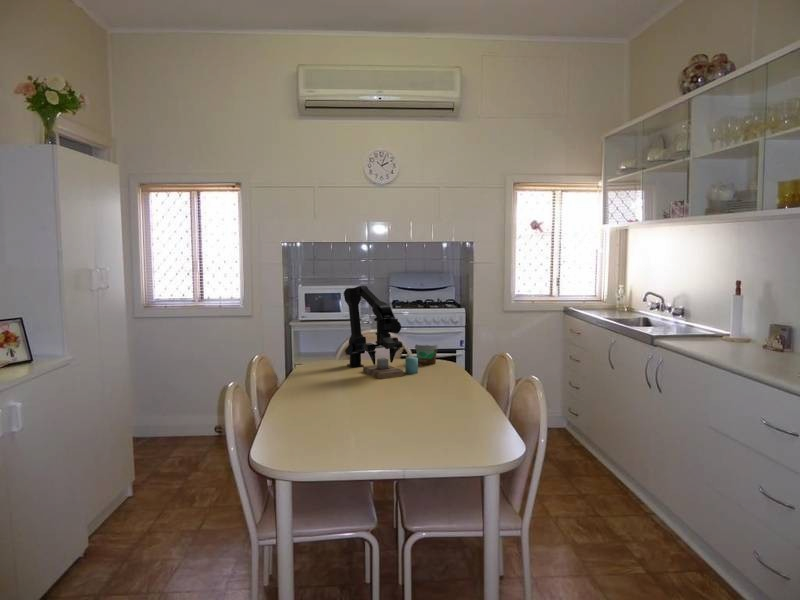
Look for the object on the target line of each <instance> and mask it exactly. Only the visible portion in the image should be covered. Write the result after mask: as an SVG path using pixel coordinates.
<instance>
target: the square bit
mask: <svg viewBox="0 0 800 600" xmlns="http://www.w3.org/2000/svg"><path fill="white" fill-rule="evenodd" d="M376 365H377V369H379V370H385V369H388V365H389V359H388V358H386V357H382V358H377V359H376Z"/></svg>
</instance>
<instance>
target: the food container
mask: <svg viewBox="0 0 800 600" xmlns="http://www.w3.org/2000/svg"><path fill="white" fill-rule="evenodd" d="M414 349H415V351H416V357H417V358H418V365H423V366H433V365H436V362H437V361H436V360H437V352H438V349H439V345H438V344H435V345H429V344H423V345H421V344H418V343H415V346H414Z"/></svg>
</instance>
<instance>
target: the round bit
mask: <svg viewBox="0 0 800 600" xmlns="http://www.w3.org/2000/svg"><path fill="white" fill-rule="evenodd" d="M404 359H405V361H404V362H405V364H404V365H405V369H404V370H405V374H409V375H410V374H411V375H413V374H414V375H415V373H416V374H418V373H419V364H418V358H417V356H416V357H415V356H406V357H405V358H404Z"/></svg>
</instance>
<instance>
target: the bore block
mask: <svg viewBox="0 0 800 600" xmlns="http://www.w3.org/2000/svg"><path fill="white" fill-rule="evenodd" d="M362 371H363V373H366V374H368V375H370V376H373V377H376V378H378V379H381V380H382V379H383V380H384V379H389V378H397V377H403V376H404V370H403V369H401V368H397V367H395V366H392V365H390V364H388V369H385V370H379V369H377V364H375V365H374V364H372V365H371V364H370V365H364V366H362Z"/></svg>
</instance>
